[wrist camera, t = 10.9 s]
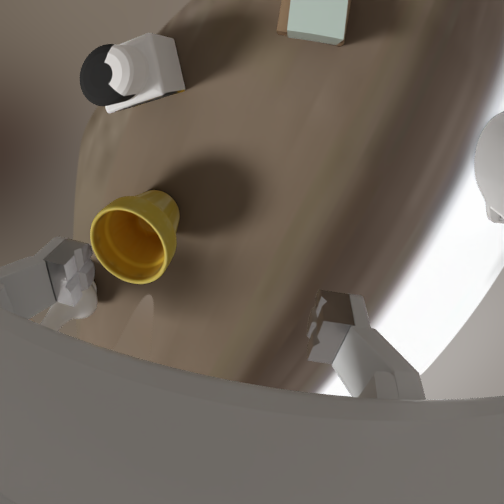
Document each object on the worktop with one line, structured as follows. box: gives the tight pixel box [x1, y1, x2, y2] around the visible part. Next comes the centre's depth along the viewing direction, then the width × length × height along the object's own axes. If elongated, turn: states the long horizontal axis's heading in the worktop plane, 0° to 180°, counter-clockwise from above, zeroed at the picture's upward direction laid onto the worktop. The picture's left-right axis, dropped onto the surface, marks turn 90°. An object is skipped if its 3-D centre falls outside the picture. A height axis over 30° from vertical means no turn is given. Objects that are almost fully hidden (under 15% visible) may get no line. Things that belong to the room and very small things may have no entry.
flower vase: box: [40, 280, 98, 331], centre depth 41 cm, size 13×18×25 cm
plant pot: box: [90, 190, 180, 284], centre depth 38 cm, size 10×10×10 cm
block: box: [277, 0, 351, 47], centre depth 26 cm, size 7×7×3 cm
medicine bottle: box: [80, 33, 185, 113], centre depth 28 cm, size 7×7×12 cm
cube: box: [287, 0, 348, 45], centre depth 23 cm, size 5×5×5 cm
